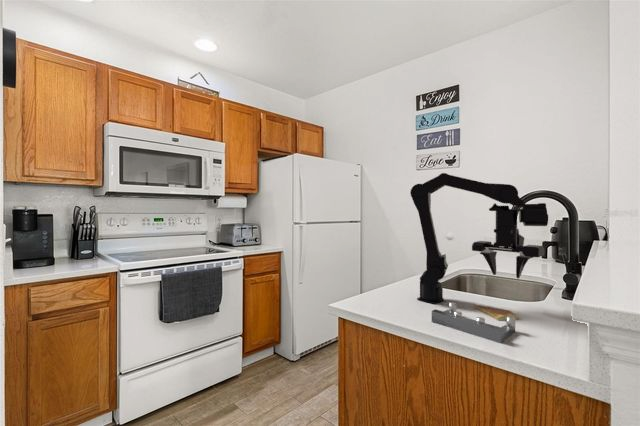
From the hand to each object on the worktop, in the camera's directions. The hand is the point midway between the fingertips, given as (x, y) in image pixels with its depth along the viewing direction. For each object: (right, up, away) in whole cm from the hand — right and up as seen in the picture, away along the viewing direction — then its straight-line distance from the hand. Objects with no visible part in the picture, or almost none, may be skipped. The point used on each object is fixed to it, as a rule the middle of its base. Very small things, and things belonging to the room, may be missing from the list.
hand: (506, 276), depth 99 cm
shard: (-6, -11, -5) cm, 14 cm away
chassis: (-17, -11, -13) cm, 24 cm away
